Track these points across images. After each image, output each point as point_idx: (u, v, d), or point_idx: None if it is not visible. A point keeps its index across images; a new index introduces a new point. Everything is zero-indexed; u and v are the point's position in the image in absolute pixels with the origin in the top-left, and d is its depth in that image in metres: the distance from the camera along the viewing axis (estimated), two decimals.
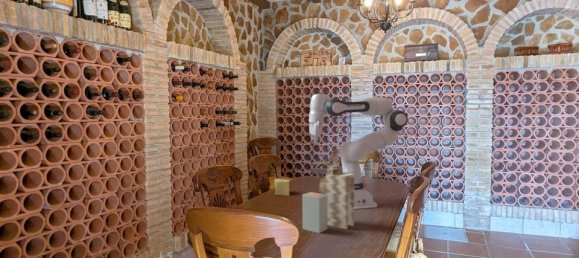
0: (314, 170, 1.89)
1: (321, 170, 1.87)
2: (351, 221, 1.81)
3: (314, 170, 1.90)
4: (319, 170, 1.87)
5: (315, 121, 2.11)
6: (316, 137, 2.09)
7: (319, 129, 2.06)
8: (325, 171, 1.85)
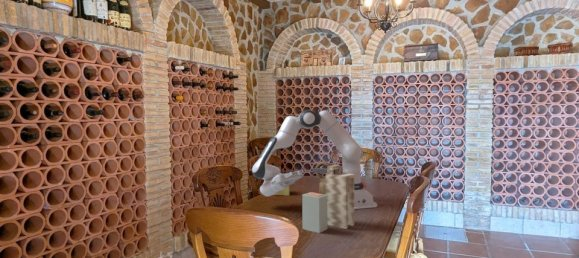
0: (314, 170, 1.89)
1: (321, 170, 1.87)
2: (351, 221, 1.81)
3: (314, 170, 1.90)
4: (319, 170, 1.87)
5: (278, 183, 2.02)
6: (285, 176, 1.96)
7: (275, 179, 1.96)
8: (325, 171, 1.85)
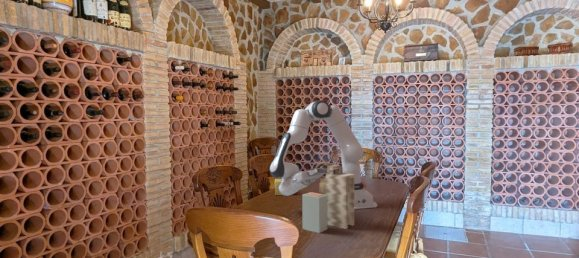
0: None
1: (321, 170, 1.87)
2: (351, 221, 1.81)
3: None
4: (319, 170, 1.87)
5: (299, 182, 1.93)
6: (310, 173, 1.88)
7: (296, 177, 1.86)
8: (325, 171, 1.85)
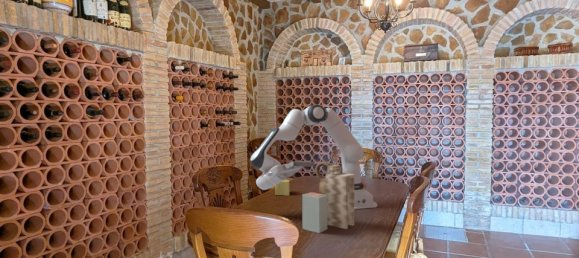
0: None
1: (297, 163, 1.81)
2: (351, 221, 1.81)
3: None
4: (295, 163, 1.82)
5: (275, 175, 1.87)
6: (286, 166, 1.82)
7: (272, 170, 1.81)
8: (301, 164, 1.79)
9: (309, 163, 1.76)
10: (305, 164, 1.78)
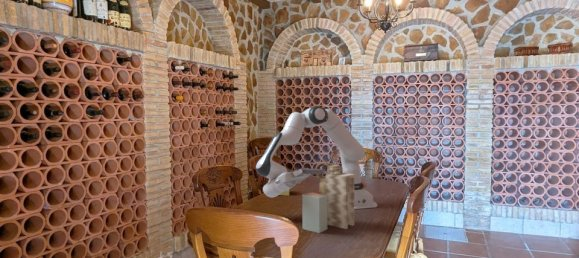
0: None
1: (306, 171, 1.76)
2: (351, 221, 1.81)
3: None
4: (304, 171, 1.77)
5: (283, 183, 1.82)
6: (295, 174, 1.77)
7: (280, 178, 1.76)
8: (310, 172, 1.74)
9: (318, 171, 1.71)
10: (314, 171, 1.73)
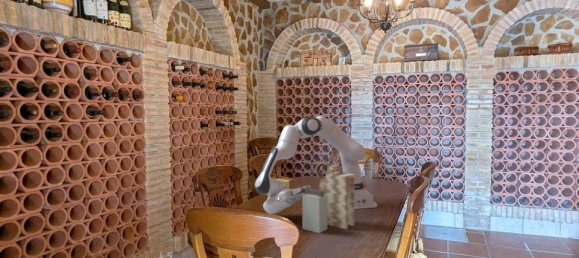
0: None
1: (307, 191, 1.76)
2: (351, 221, 1.81)
3: None
4: (304, 190, 1.77)
5: None
6: (293, 192, 1.77)
7: (280, 196, 1.76)
8: (311, 192, 1.75)
9: (319, 192, 1.72)
10: (315, 192, 1.73)
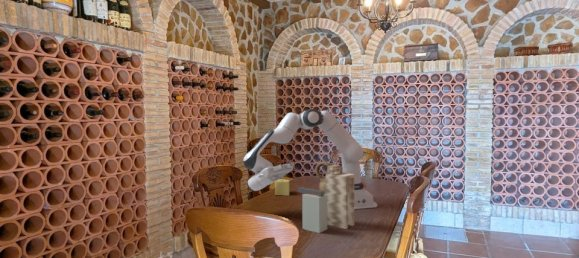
0: (299, 190, 1.79)
1: (307, 191, 1.76)
2: (351, 221, 1.81)
3: (299, 189, 1.79)
4: (304, 190, 1.77)
5: (266, 177, 1.90)
6: (274, 169, 1.83)
7: (263, 172, 1.83)
8: (311, 192, 1.75)
9: (319, 192, 1.72)
10: (315, 192, 1.73)
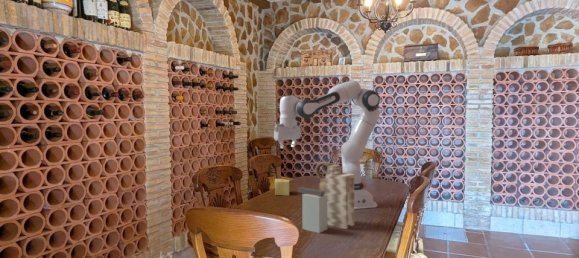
0: (299, 190, 1.79)
1: (307, 191, 1.76)
2: (351, 221, 1.81)
3: (299, 189, 1.79)
4: (304, 190, 1.77)
5: None
6: (280, 142, 1.99)
7: (277, 133, 1.96)
8: (311, 192, 1.75)
9: (319, 192, 1.72)
10: (315, 192, 1.73)
